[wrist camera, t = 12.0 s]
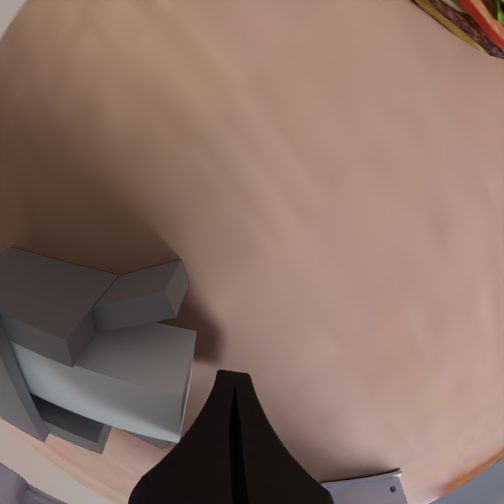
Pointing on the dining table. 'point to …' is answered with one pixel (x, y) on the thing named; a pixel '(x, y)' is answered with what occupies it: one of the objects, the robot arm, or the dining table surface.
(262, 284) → the dining table surface
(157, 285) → the endcap
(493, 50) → the food
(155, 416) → the white rectangular block
